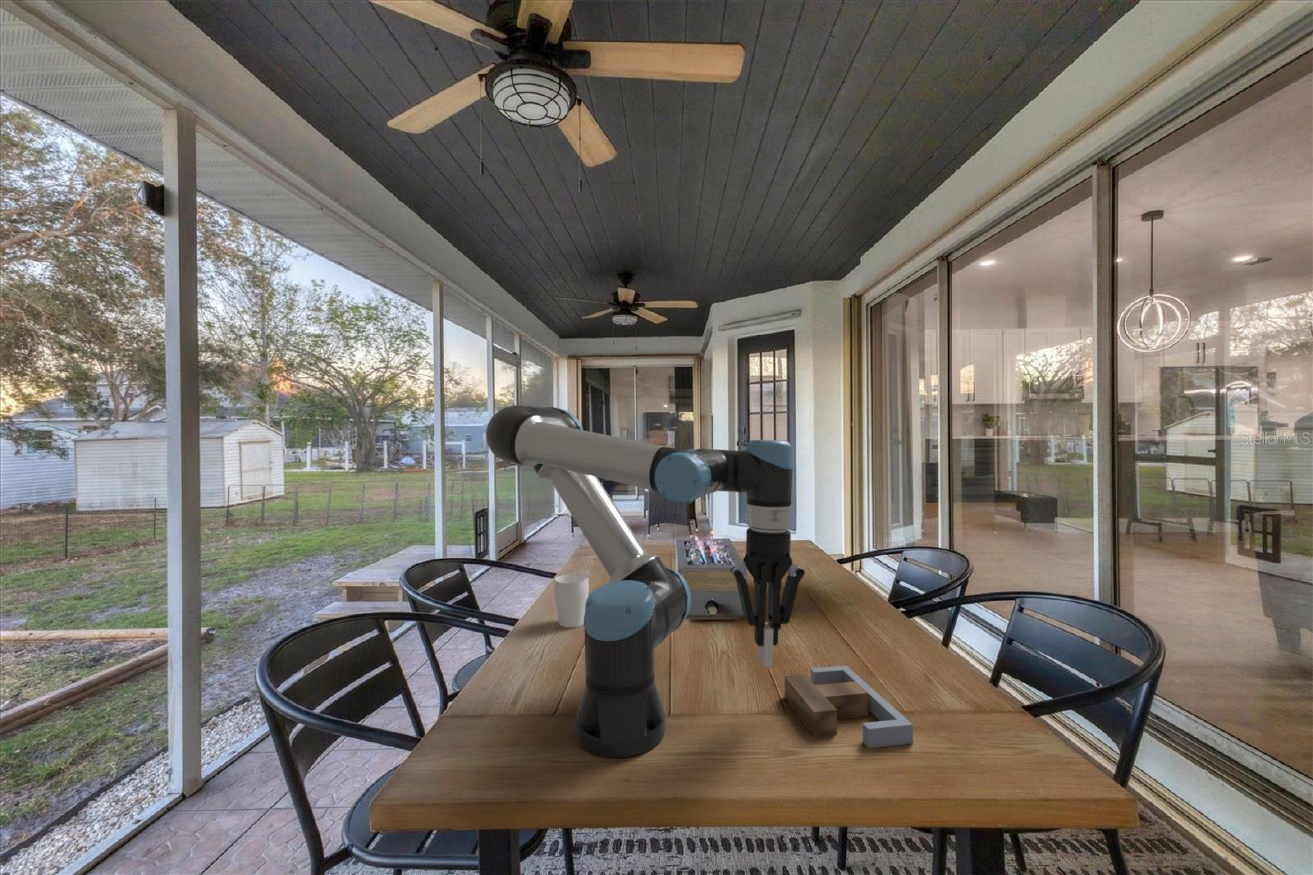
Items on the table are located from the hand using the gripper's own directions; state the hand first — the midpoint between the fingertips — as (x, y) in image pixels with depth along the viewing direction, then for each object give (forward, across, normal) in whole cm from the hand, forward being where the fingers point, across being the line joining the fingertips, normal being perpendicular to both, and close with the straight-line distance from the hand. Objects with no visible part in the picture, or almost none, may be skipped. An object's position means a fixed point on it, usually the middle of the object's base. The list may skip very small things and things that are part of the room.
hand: (765, 662), depth 84 cm
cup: (+12, -35, +49) cm, 61 cm away
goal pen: (+9, +17, -1) cm, 19 cm away
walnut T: (+9, +12, 0) cm, 15 cm away
